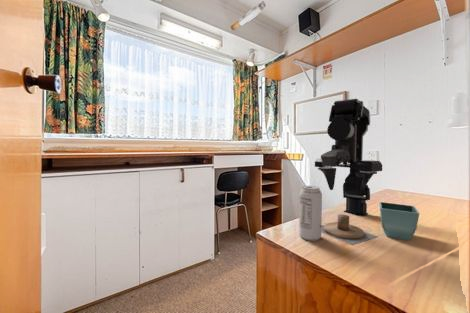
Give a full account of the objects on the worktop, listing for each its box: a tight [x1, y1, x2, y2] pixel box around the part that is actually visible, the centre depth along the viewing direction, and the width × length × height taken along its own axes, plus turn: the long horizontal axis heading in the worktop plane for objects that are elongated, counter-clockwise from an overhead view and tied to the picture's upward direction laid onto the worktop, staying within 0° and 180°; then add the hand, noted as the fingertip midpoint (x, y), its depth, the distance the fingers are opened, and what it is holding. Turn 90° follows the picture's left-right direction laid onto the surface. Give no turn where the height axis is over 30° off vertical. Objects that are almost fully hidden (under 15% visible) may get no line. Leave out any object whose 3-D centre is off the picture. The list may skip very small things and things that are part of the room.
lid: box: [323, 213, 365, 239], centre depth 67 cm, size 11×11×5 cm
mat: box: [321, 221, 379, 246], centre depth 67 cm, size 14×12×1 cm
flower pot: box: [378, 201, 420, 241], centre depth 64 cm, size 9×9×9 cm
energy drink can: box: [298, 185, 323, 242], centre depth 63 cm, size 6×6×15 cm
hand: (344, 192), depth 66 cm, fingers open, 9 cm apart
